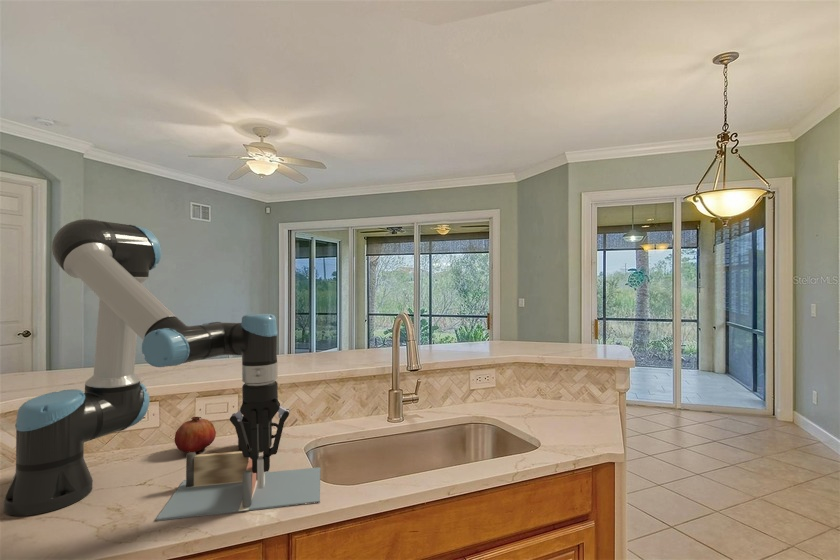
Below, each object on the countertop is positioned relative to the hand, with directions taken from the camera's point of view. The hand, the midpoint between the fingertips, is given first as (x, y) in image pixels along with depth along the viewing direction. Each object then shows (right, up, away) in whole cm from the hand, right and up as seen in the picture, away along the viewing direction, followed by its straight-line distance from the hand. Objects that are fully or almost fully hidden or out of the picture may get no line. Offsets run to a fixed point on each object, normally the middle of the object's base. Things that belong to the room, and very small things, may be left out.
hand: (261, 485), depth 95 cm
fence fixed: (-12, -3, +8) cm, 15 cm away
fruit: (-30, -4, +28) cm, 41 cm away
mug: (-12, -4, +31) cm, 34 cm away
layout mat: (-4, -3, +4) cm, 7 cm away
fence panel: (-3, -2, +2) cm, 4 cm away
